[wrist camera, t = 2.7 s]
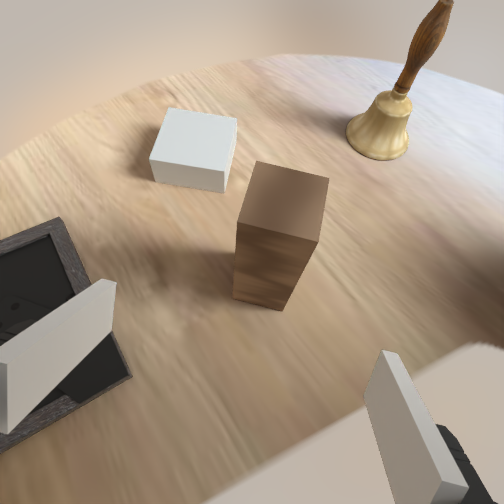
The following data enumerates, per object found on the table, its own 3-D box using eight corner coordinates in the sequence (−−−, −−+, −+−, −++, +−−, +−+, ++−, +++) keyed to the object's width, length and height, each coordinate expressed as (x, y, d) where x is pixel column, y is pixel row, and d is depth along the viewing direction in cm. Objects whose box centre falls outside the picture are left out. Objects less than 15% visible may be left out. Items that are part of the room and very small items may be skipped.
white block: (236, 144, 42) (237, 118, 39) (224, 194, 38) (224, 171, 35) (173, 133, 42) (168, 107, 39) (155, 183, 38) (148, 159, 35)
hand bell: (332, 129, 44) (383, -10, 30) (376, 106, 47) (442, -31, 33) (376, 170, 42) (456, 40, 27) (420, 144, 44) (513, 13, 30)
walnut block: (291, 265, 35) (329, 178, 22) (282, 311, 32) (318, 241, 20) (244, 254, 35) (256, 160, 22) (232, 298, 33) (237, 221, 20)
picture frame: (134, 377, 29) (65, 224, 36) (128, 374, 28) (57, 214, 34) (-33, 475, 25) (-77, 283, 32) (-52, 478, 24) (-95, 275, 30)
